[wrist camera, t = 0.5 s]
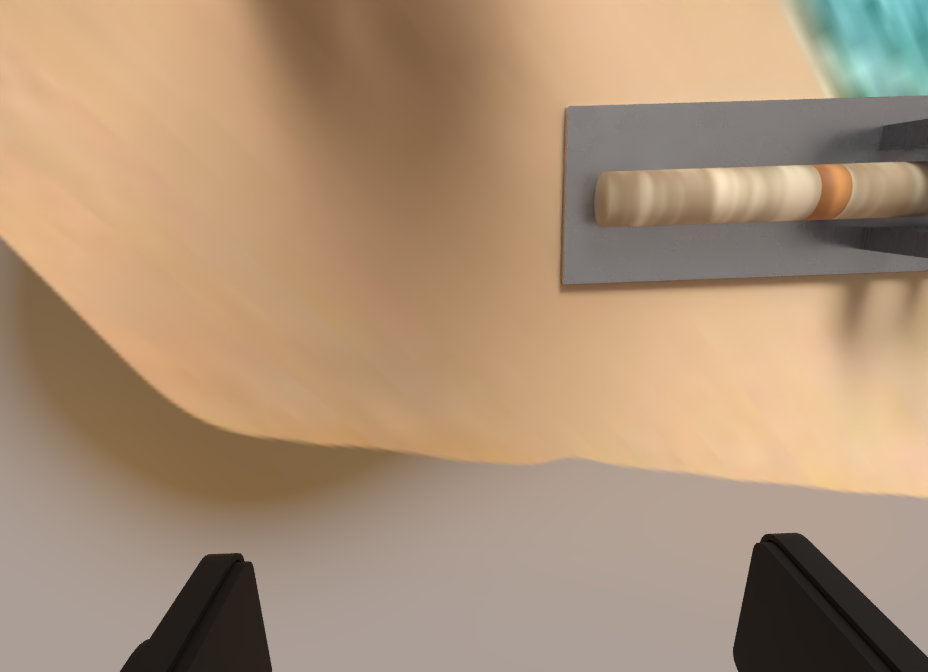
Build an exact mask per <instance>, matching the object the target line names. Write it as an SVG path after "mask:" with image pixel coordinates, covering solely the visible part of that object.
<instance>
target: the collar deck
mask: <svg viewBox="0 0 928 672" xmlns="http://www.w3.org/2000/svg"><path fill="white" fill-rule="evenodd" d="M911 161H928V96H898V97H865V98H832V99H799V100H766V101H733V102H700V103H667V104H633V105H600V106H568V107H567V108H566V116H565V155H564V194H563V233H562V272H561V283H562V284H589V283H616V282H642V281H668V280H695V279H721V278H748V277H774V276H801V275H827V274H854V273H880V272H907V271H928V216H920V217H891V218H863V219H835V220H807V221H778V222H750V223H722V224H694V225H666V226H637V227H609V228H600V227H599V226H598V224H597V222H596V218H595V212H594V196H595V188H596V184H597V180H598V177H599V175H600V174H601V173H602V172H608V171H639V170H669V169H699V168H729V167H760V166H790V165H820V164H850V163H881V162H911Z"/></svg>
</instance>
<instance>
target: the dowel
mask: <svg viewBox="0 0 928 672" xmlns="http://www.w3.org/2000/svg"><path fill="white" fill-rule="evenodd" d="M594 212H595V218H596V222H597V224H598V226H599V227H600V228H609V227H637V226H666V225H694V224H722V223H750V222H778V221H807V220H835V219H863V218H891V217H920V216H928V161H911V162H881V163H850V164H820V165H790V166H760V167H729V168H699V169H669V170H639V171H608V172H602V173H601V174H600V175H599V177H598V180H597V184H596V188H595V196H594Z"/></svg>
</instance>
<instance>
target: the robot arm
mask: <svg viewBox="0 0 928 672" xmlns="http://www.w3.org/2000/svg"><path fill="white" fill-rule="evenodd" d="M733 656H734V661H735V664H736V667H737V670H738V672H928V657H927V656H926V655H925V654H924V653H923V652H922V651H921V650H920V649H919V648H918V647H917V646H916V645H915V644H914V643H913V642H912V641H910V639H909V638H908V637H907V636H906V635H904V633H903V632H902V631H901V630H900V629H898V627H896V626H895V625H894V624H893V623H892V622H891V621H890V620H889V619H888V618H887V617H886V616H885V615H884V614H883V613H882V612H881V611H880V610H879V609H878V608H877V607H876V606H875V605H874V604H873V603H872V602H871V601H870V600H869V599H868V598H867V597H866V596H865V595H864V594H863V593H862V592H861V591H860V590H859V589H858V588H857V587H856V586H855V585H854V584H853V583H852V582H851V581H850V580H849V579H848V578H847V577H846V576H845V575H844V574H842V573H841V572H840V571H839V570H838V569H837V568H836V567H835V566H834V565H833V564H832V563H831V562H830V561H829V560H828V559H827V558H826V557H825V556H824V555H823V554H822V553H821V552H820V551H819V550H818V549H817V548H816V547H815V546H814V545H813V544H812V543H811V542H810V541H809V540H808V539H807V538H805V537H804V536H803V535H801V534H798V533H781V534H766V535H764V536H763V537H762V539H761V542H760V543H756V544H755V545H754V548H753V552H752V557H751V563H750V567H749V573H748V577H747V582H746V587H745V592H744V598H743V603H742V607H741V612H740V617H739V623H738V627H737V632H736V637H735V642H734V647H733ZM120 672H272V667H271V661H270V656H269V650H268V644H267V639H266V634H265V628H264V623H263V617H262V612H261V606H260V600H259V595H258V590H257V584H256V579H255V573H254V568H253V564H252V563H251V562H245V561H244V558H243V556H242V555H241V554H239V553H231V554H208V555H206V556H205V557H204V558H203V559H202V560H201V562H200V563H199V564H198V566H197V568H196V569H195V571H194V572H193V574H192V575H191V577H190V578H189V580H188V581H187V583H186V585H185V586H184V587H183V589H182V590H181V592H180V593H179V595H178V596H177V598H176V599H175V601H174V603H173V604H172V605H171V607H170V609H169V610H168V612H167V613H166V615H165V616H164V618H163V619H162V621H161V622H160V624H159V625H158V627H157V628H156V630H155V631H154V633H153V634H152V636H151V638H150V639H148V640H146V641H144V642H143V643H141V644H140V645H139V646H138V647H137V648H136V650H135V651H134V652H133V653H132V654H131V656H130V657H129V659H128V660H127V662H126V663H125V665H124V666H123V668H122V669H121V671H120Z"/></svg>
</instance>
